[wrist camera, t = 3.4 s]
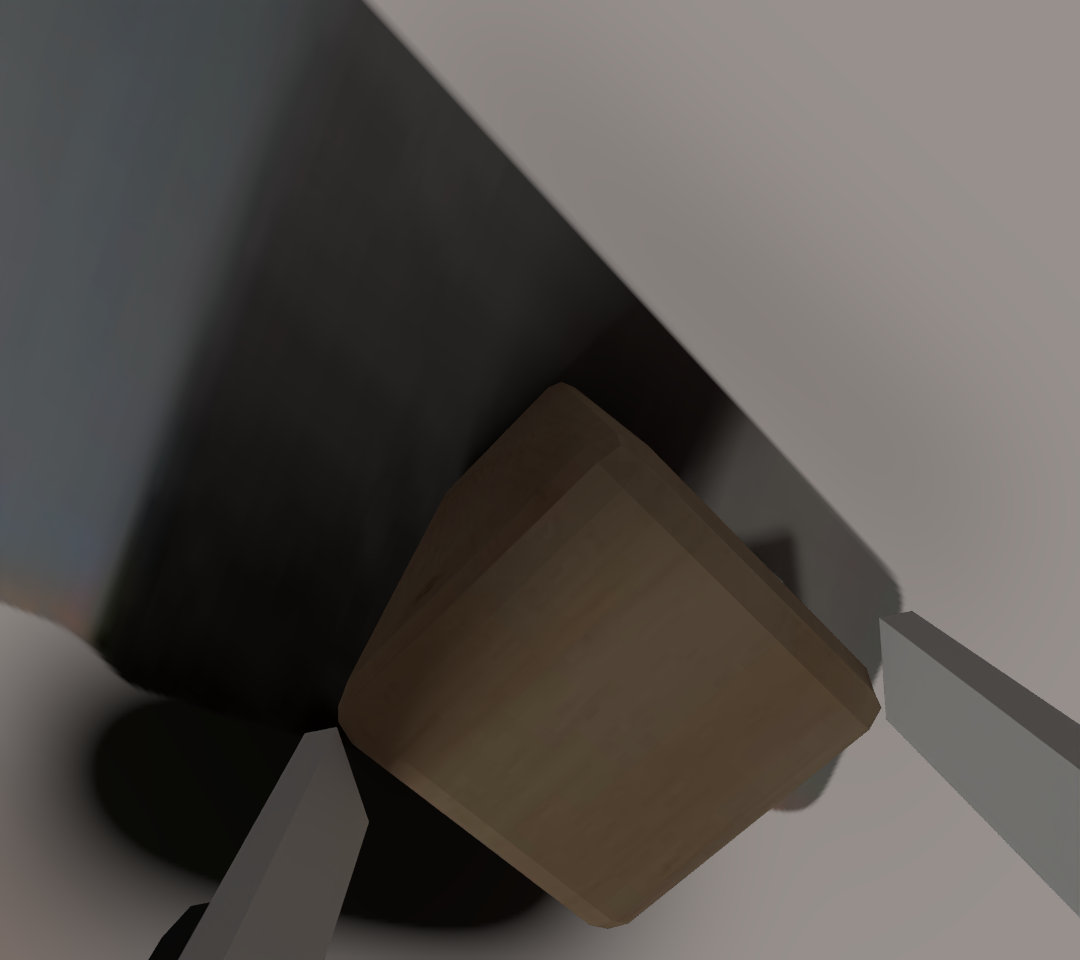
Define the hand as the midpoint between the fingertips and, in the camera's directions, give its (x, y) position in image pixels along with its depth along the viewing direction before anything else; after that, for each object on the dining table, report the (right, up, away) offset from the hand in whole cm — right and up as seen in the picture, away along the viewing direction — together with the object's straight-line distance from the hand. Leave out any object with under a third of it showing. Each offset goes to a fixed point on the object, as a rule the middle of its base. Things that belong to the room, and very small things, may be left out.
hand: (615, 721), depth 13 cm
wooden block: (-1, +5, +19) cm, 20 cm away
